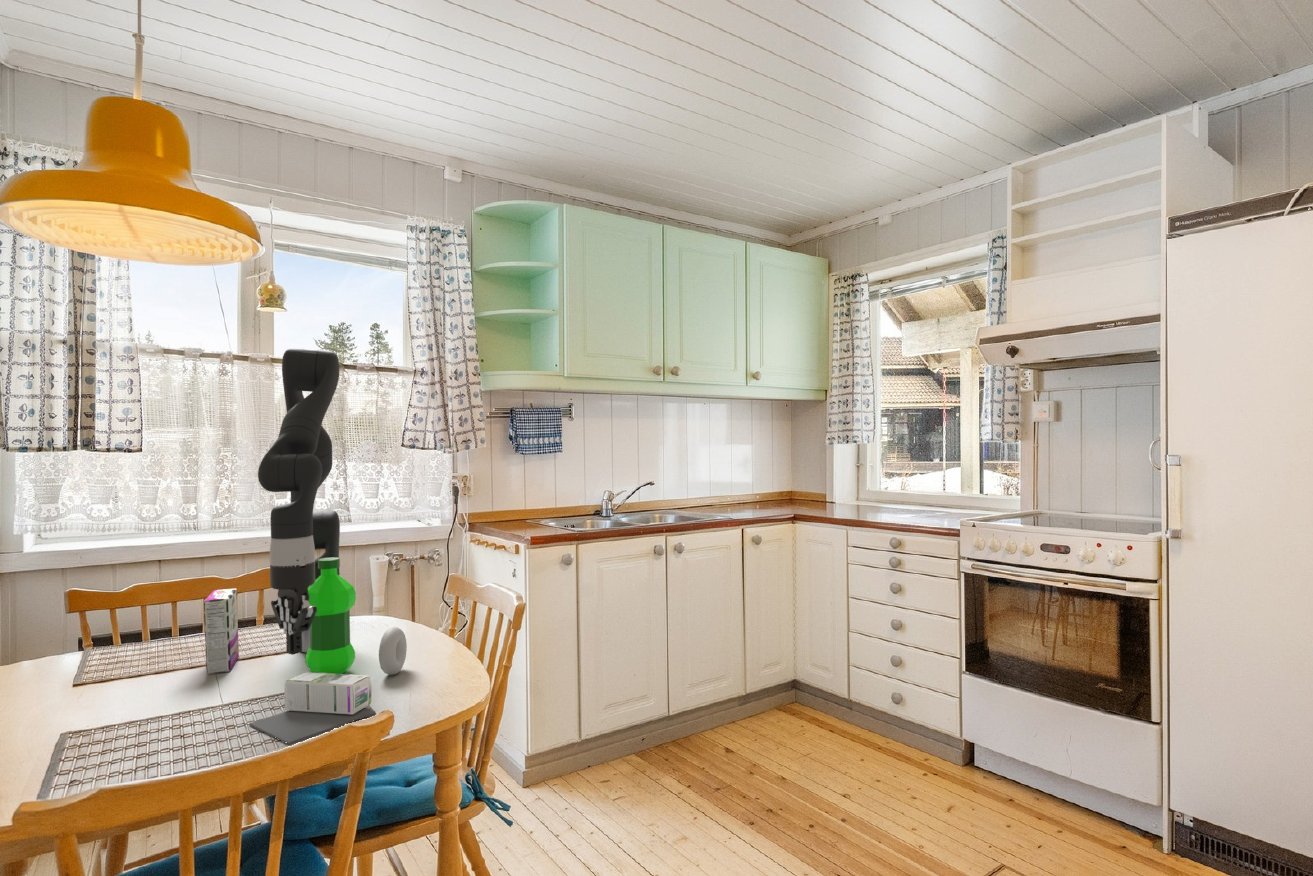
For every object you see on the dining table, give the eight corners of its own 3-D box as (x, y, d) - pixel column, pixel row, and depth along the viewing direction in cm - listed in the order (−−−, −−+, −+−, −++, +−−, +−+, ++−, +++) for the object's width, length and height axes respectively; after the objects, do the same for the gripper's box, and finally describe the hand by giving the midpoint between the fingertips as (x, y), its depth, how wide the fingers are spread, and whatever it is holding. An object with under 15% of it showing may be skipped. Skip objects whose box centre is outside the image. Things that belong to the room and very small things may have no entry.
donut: (394, 666, 161) (393, 621, 161) (409, 666, 161) (408, 621, 161) (376, 682, 151) (375, 634, 151) (392, 682, 151) (392, 634, 151)
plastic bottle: (364, 666, 161) (362, 554, 161) (342, 683, 150) (340, 563, 150) (320, 666, 161) (318, 555, 161) (295, 683, 151) (292, 563, 150)
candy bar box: (214, 660, 167) (213, 589, 166) (239, 657, 169) (237, 587, 168) (204, 675, 156) (202, 600, 156) (230, 672, 158) (229, 597, 158)
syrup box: (283, 711, 134) (353, 717, 131) (283, 679, 134) (353, 684, 131) (304, 700, 140) (372, 705, 137) (304, 670, 140) (371, 674, 137)
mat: (249, 725, 129) (249, 723, 129) (334, 698, 142) (334, 696, 142) (288, 745, 121) (288, 742, 121) (375, 714, 133) (375, 711, 133)
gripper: (255, 560, 136) (256, 652, 136) (290, 567, 128) (292, 665, 128) (294, 554, 142) (296, 642, 142) (330, 561, 134) (332, 654, 134)
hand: (294, 653), depth 135 cm, fingers closed
